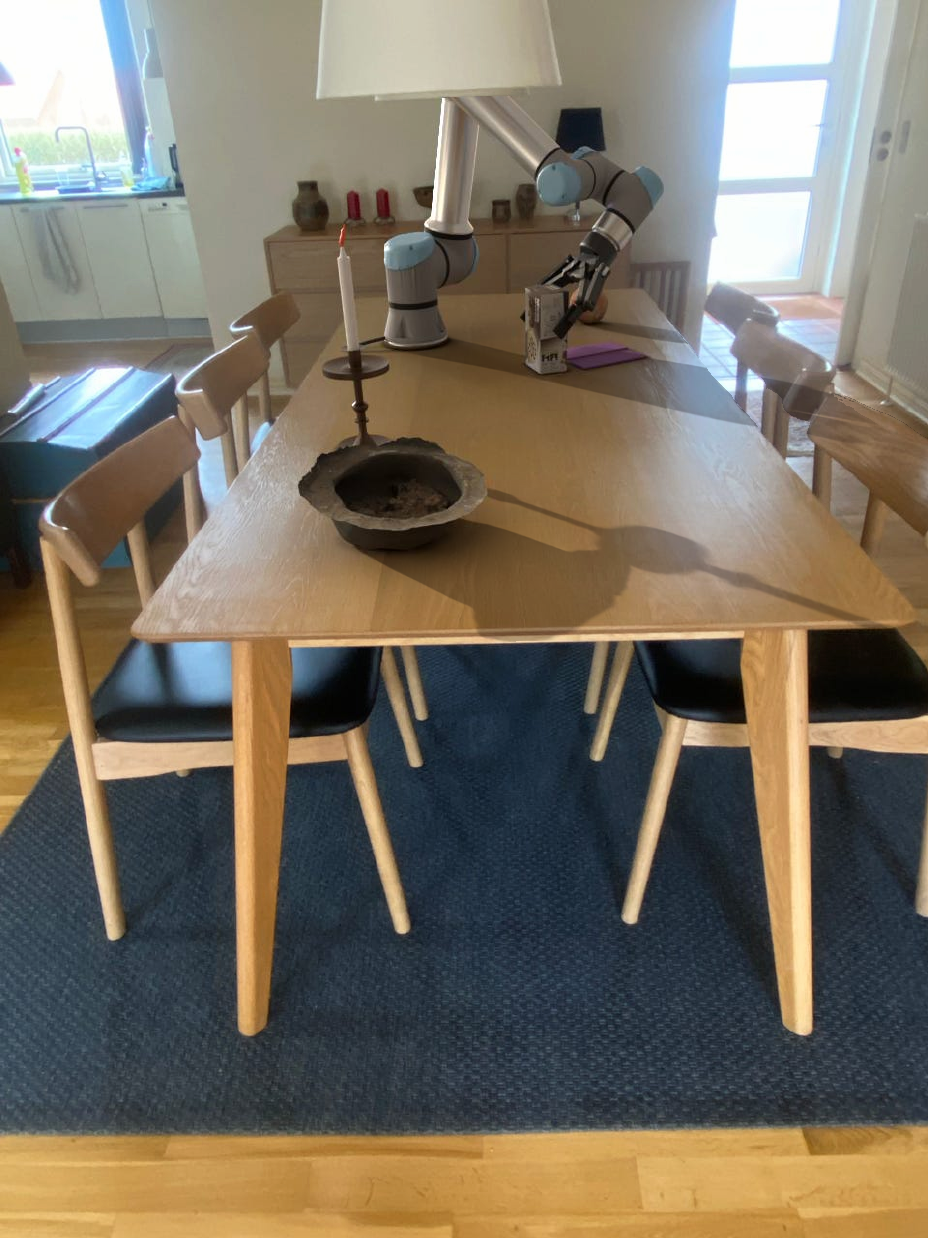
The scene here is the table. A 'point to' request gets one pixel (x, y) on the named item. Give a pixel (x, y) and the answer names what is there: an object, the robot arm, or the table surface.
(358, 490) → the stone bowl
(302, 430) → the table surface
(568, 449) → the table surface
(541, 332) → the coffee box
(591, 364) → the napkin
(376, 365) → the candlestick
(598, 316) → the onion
